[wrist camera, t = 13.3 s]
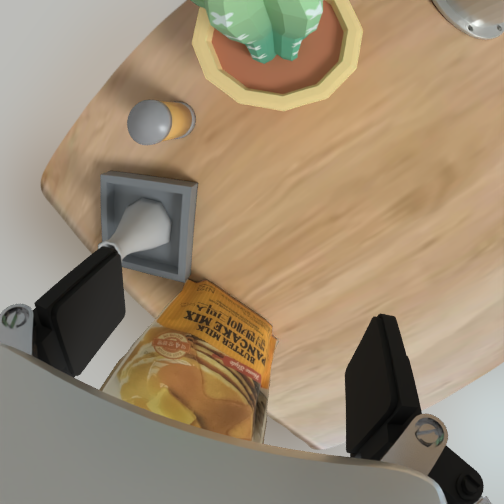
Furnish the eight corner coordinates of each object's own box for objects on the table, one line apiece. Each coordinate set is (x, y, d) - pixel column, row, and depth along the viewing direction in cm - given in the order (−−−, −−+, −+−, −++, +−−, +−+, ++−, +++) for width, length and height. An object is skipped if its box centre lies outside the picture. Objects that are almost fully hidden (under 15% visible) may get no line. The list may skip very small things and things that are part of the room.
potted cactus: (341, -8, 24) (382, -148, 2) (356, 112, 30) (466, 105, 8) (210, 3, 27) (86, -103, 4) (220, 119, 33) (73, 133, 11)
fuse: (163, 100, 33) (129, 99, 26) (198, 103, 33) (170, 100, 25) (159, 136, 35) (125, 143, 28) (193, 140, 35) (165, 147, 27)
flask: (167, 194, 38) (128, 220, 29) (177, 247, 40) (144, 284, 31) (121, 199, 39) (76, 225, 30) (132, 248, 42) (94, 282, 33)
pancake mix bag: (267, 359, 47) (233, 526, 22) (166, 291, 45) (63, 445, 19) (295, 336, 44) (274, 521, 19) (187, 261, 42) (70, 427, 17)
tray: (110, 170, 38) (100, 174, 36) (198, 182, 37) (191, 187, 35) (112, 255, 43) (103, 261, 41) (190, 274, 42) (184, 282, 40)
